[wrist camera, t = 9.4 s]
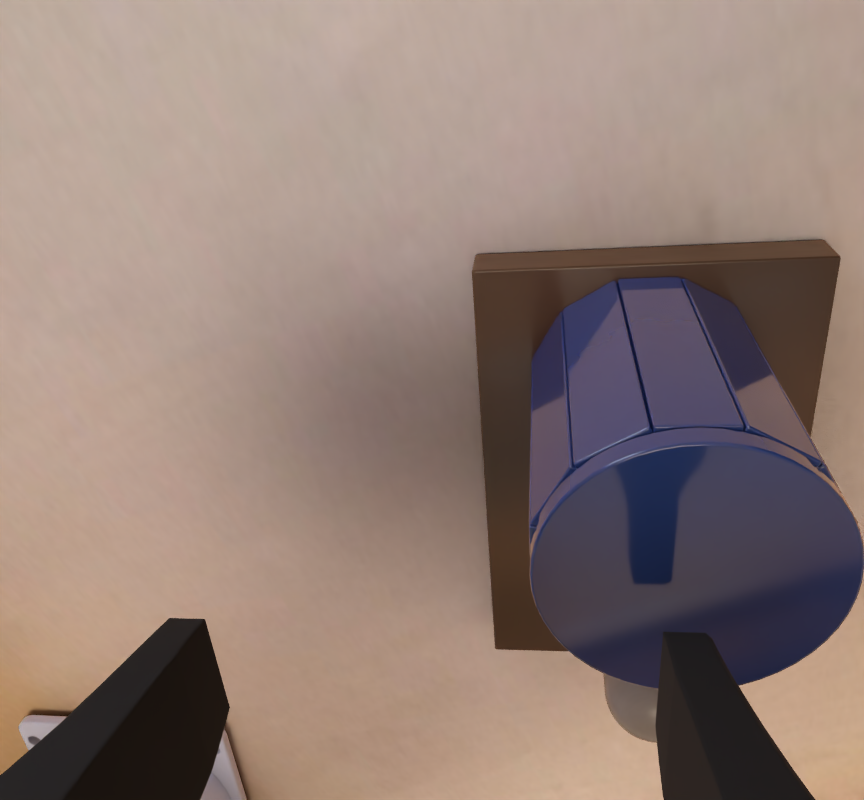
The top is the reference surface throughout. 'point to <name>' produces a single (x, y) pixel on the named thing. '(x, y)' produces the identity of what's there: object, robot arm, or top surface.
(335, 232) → the top surface
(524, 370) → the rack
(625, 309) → the blue ribbed canister
